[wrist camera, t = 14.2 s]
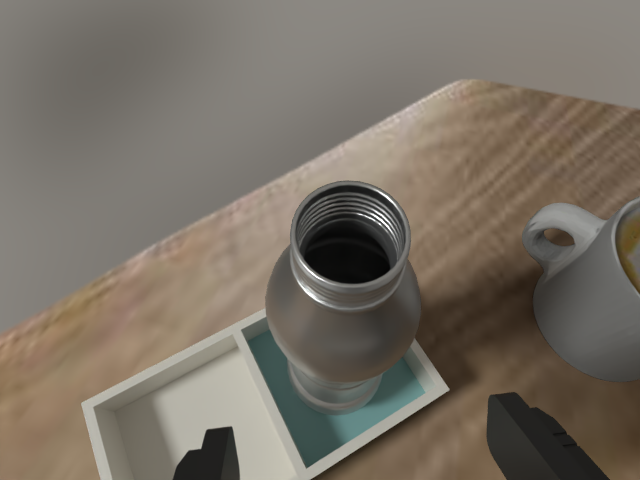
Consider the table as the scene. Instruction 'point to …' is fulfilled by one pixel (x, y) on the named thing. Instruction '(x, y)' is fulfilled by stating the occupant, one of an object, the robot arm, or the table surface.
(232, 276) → the table surface
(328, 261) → the grey metal bottle
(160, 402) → the divided tray
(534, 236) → the coffee mug
